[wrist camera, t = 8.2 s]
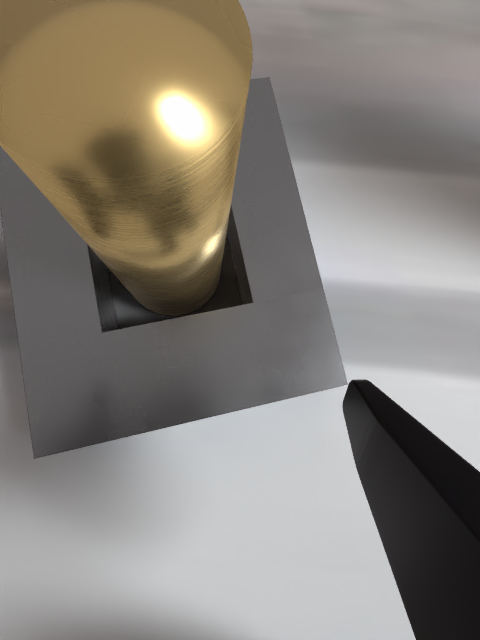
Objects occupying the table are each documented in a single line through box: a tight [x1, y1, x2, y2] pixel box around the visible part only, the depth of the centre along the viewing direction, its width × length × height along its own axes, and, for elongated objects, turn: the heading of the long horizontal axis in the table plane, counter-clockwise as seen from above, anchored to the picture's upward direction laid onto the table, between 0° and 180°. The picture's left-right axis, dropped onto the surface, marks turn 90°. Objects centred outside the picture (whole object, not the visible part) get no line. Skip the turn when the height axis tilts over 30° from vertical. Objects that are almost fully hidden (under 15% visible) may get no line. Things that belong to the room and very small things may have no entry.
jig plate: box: [0, 78, 348, 459], centre depth 16 cm, size 14×12×3 cm
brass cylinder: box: [0, 0, 253, 316], centre depth 11 cm, size 5×5×12 cm
